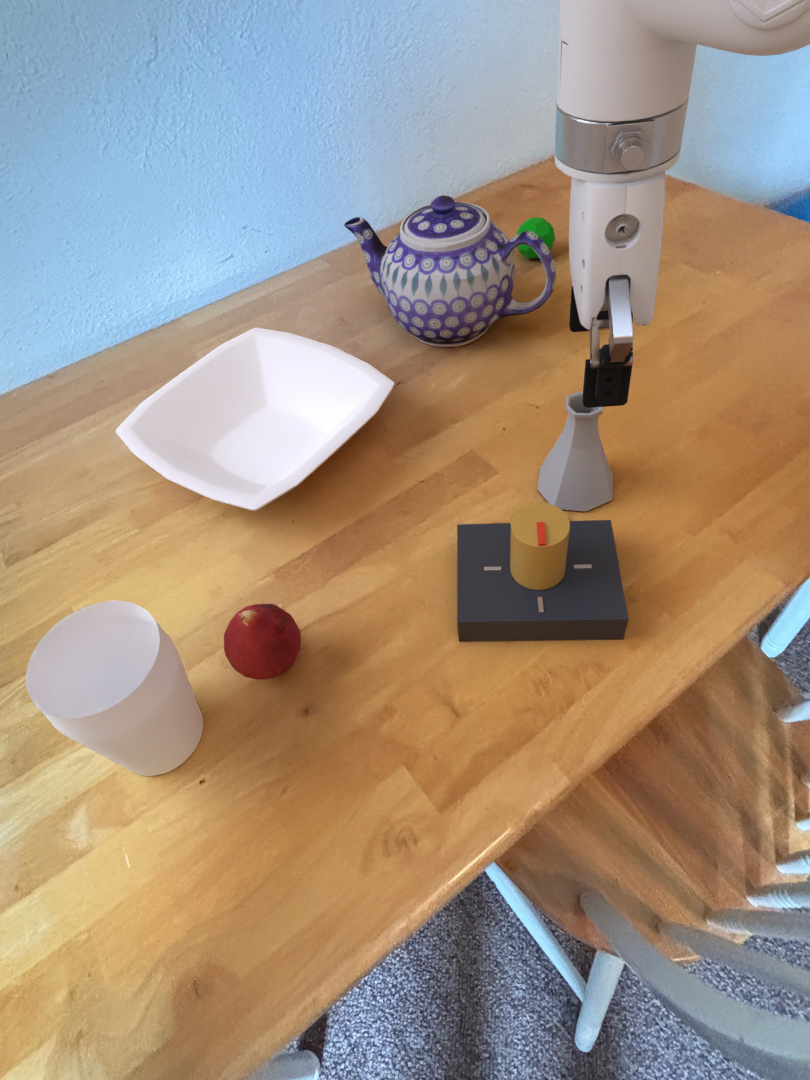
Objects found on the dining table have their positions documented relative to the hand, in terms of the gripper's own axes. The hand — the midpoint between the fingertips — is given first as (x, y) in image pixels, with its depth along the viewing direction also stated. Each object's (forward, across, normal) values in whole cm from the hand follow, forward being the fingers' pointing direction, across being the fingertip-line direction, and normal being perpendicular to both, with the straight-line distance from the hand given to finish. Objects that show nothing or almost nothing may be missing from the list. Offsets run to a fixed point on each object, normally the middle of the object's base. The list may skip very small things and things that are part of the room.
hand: (596, 364), depth 56 cm
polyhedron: (+14, +42, +2) cm, 45 cm away
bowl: (+13, +7, +32) cm, 35 cm away
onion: (+14, -19, +27) cm, 35 cm away
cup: (+14, -25, +35) cm, 45 cm away
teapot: (+14, +28, +13) cm, 34 cm away
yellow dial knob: (+11, -12, +5) cm, 17 cm away
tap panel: (+14, -12, +5) cm, 19 cm away
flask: (+14, 0, +1) cm, 14 cm away
